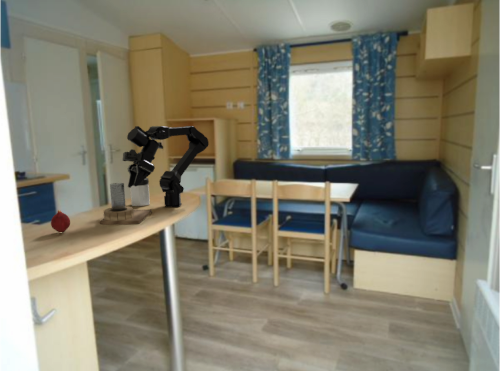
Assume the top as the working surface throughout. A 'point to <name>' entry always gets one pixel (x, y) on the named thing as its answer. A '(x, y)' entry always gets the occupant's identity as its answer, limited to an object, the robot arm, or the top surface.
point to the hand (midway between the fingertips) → (131, 186)
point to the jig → (125, 216)
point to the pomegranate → (60, 222)
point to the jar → (140, 194)
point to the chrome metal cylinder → (117, 197)
